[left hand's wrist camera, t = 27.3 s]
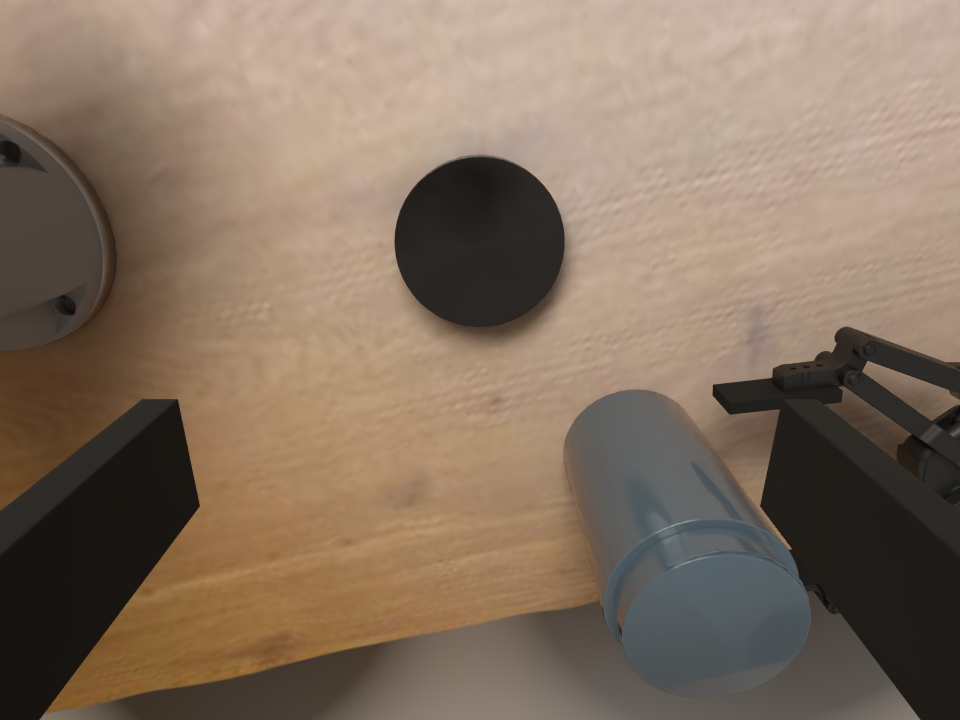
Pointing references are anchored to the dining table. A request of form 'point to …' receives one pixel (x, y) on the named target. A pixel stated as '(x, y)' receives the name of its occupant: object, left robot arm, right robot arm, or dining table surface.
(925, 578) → the left robot arm
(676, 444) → the jar
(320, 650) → the dining table surface
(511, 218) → the lid
